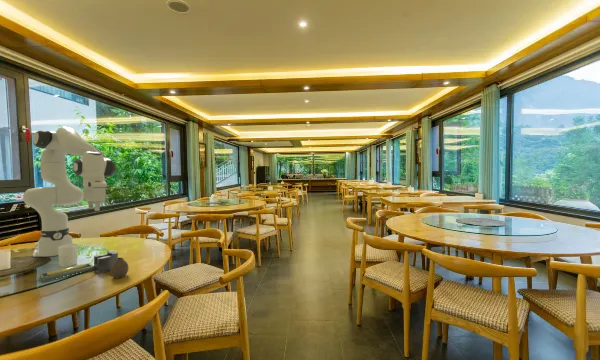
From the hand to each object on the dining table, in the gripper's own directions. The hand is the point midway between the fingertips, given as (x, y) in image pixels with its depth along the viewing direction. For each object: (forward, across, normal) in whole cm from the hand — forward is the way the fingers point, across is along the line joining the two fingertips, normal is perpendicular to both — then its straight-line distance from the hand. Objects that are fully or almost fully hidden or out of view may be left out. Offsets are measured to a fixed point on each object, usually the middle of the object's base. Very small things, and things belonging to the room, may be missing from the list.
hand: (93, 209), depth 135 cm
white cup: (+29, -11, -8) cm, 32 cm away
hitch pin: (+28, +4, -11) cm, 31 cm away
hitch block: (+29, +11, +2) cm, 31 cm away
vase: (+29, +26, +3) cm, 39 cm away
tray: (+29, +4, -11) cm, 32 cm away
